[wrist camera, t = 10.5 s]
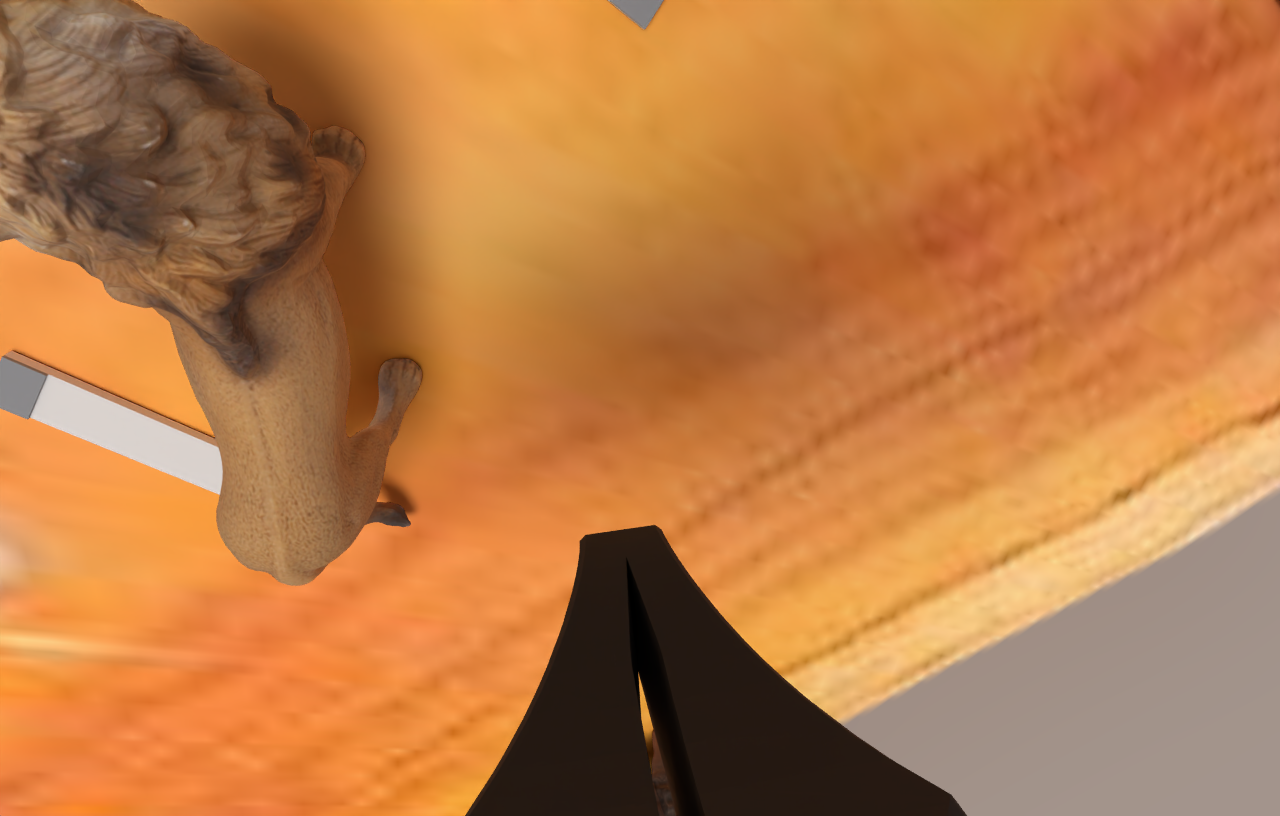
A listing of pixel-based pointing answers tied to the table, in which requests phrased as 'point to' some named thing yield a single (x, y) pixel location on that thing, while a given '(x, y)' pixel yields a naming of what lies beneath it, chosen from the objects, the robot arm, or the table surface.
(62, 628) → the table surface
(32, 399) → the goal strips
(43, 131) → the lion figurine
